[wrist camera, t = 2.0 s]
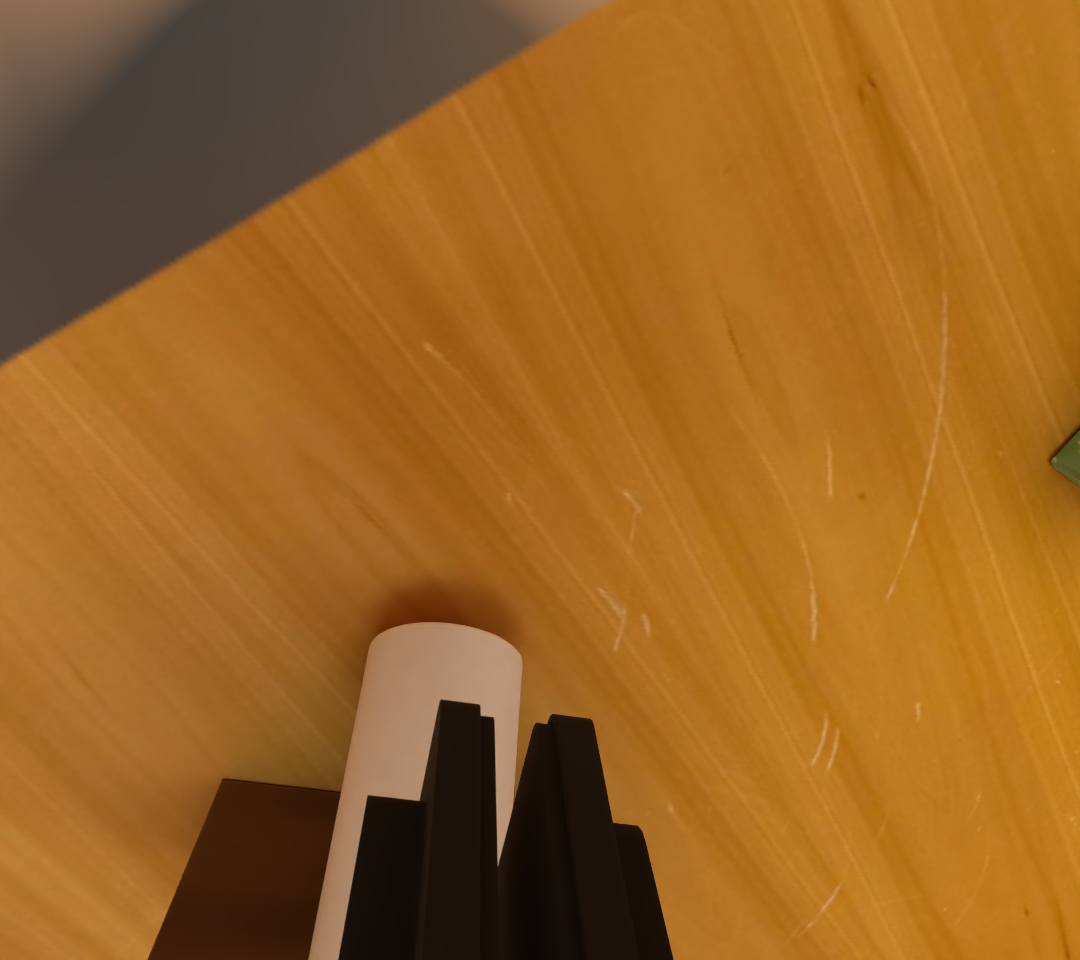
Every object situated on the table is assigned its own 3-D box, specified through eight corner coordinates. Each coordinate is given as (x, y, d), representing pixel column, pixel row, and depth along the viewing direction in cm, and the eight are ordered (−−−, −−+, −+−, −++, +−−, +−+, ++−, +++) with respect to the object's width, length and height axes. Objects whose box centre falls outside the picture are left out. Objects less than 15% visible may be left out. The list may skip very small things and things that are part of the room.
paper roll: (382, 570, 26) (318, 843, 16) (532, 593, 27) (561, 869, 17) (348, 788, 30) (277, 1126, 20) (482, 803, 31) (480, 1137, 20)
